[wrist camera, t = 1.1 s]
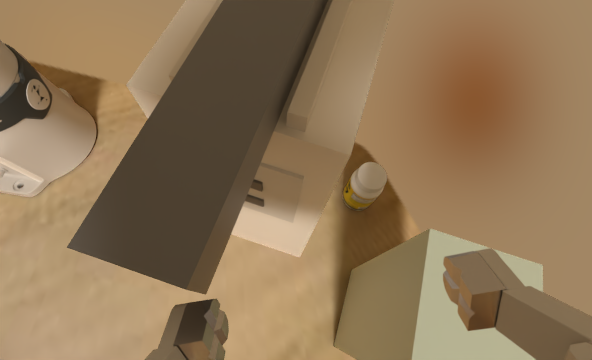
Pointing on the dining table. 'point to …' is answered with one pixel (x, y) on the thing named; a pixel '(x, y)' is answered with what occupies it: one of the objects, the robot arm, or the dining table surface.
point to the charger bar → (202, 145)
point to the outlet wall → (290, 114)
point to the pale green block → (420, 306)
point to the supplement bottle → (364, 186)
